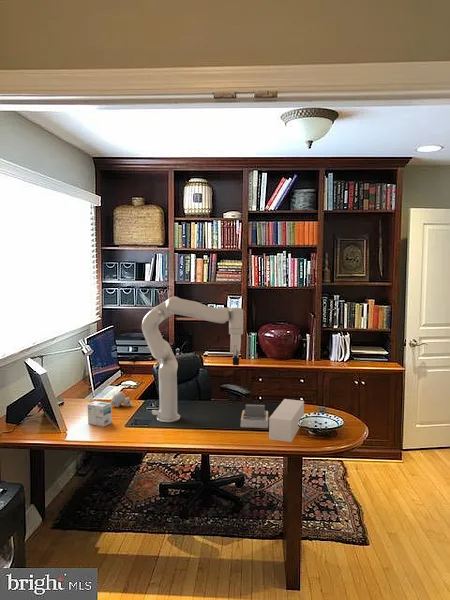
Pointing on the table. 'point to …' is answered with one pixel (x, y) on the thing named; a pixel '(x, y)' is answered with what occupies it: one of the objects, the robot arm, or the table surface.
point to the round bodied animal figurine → (120, 399)
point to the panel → (255, 410)
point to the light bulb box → (99, 413)
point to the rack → (254, 421)
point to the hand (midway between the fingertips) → (235, 364)
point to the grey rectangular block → (286, 420)
